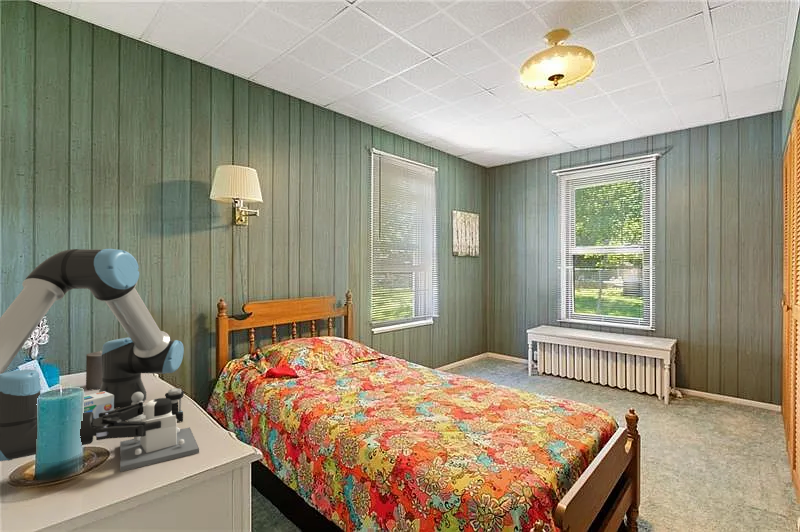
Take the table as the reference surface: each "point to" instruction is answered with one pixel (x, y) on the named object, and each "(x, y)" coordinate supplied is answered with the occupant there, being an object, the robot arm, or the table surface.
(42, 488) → the table surface
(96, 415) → the light bulb box
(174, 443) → the medicine bottle
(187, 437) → the pin tray
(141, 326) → the robot arm
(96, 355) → the pillar candle
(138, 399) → the chess piece
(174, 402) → the push button
